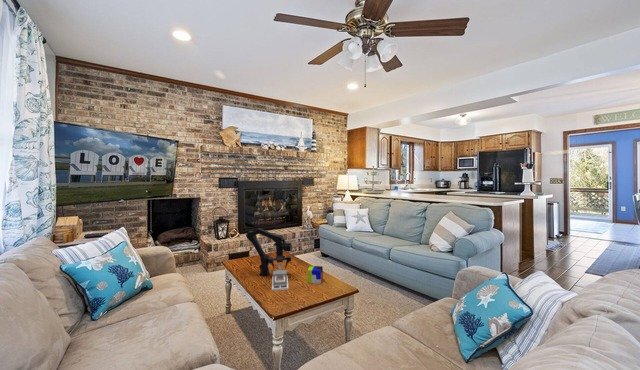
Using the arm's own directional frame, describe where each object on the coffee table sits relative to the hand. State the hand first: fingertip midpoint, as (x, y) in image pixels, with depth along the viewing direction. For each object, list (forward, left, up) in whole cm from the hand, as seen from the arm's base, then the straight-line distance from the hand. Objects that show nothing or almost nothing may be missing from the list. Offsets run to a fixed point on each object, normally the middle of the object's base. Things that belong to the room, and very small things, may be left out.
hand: (279, 269), depth 222 cm
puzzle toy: (+32, +1, -5) cm, 32 cm away
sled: (+3, -5, -3) cm, 7 cm away
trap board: (+9, -14, -5) cm, 17 cm away
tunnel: (+10, -17, -4) cm, 20 cm away
